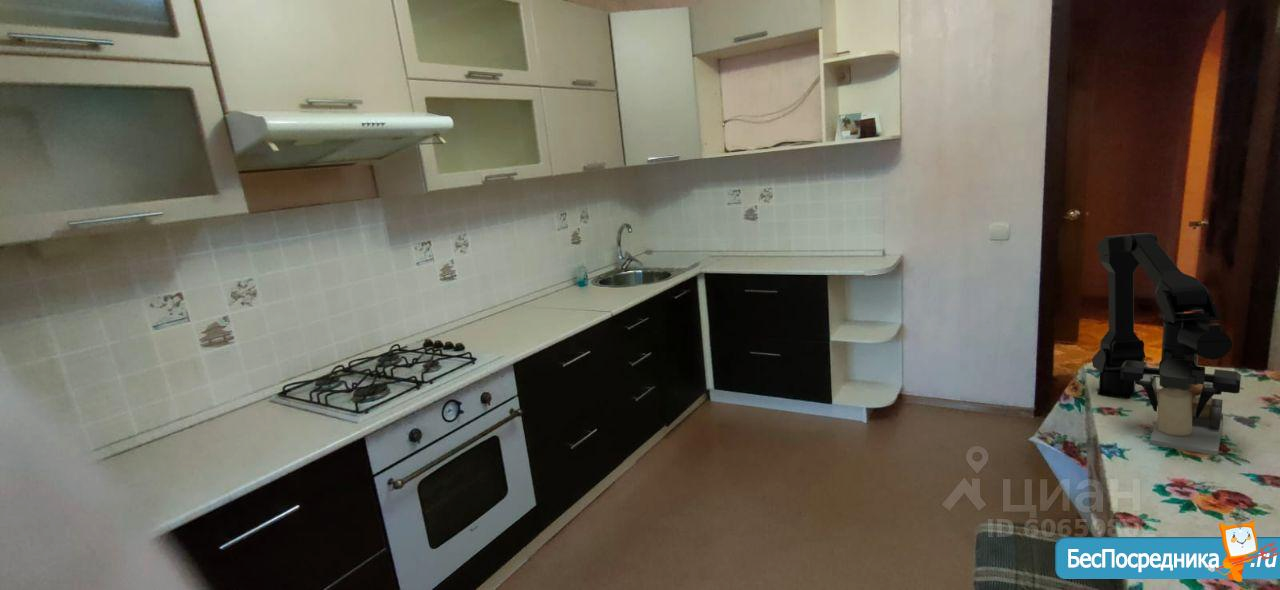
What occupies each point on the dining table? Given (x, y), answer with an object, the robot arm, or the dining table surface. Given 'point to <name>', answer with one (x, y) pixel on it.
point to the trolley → (1209, 411)
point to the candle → (1175, 411)
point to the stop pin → (1196, 390)
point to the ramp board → (1191, 437)
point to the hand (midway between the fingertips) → (1176, 413)
